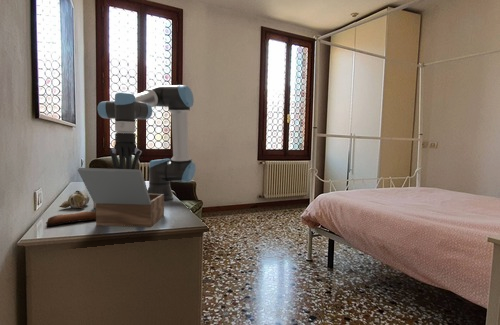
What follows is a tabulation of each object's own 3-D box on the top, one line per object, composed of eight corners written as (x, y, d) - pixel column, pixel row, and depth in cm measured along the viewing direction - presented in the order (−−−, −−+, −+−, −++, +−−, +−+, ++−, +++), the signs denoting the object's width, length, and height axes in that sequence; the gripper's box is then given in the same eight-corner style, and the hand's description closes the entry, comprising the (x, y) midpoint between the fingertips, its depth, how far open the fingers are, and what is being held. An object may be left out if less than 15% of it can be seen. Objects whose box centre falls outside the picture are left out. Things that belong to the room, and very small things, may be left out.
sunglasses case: (92, 216, 134) (94, 204, 131) (96, 227, 130) (98, 215, 127) (44, 222, 122) (44, 210, 119) (46, 235, 118) (47, 222, 115)
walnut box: (116, 214, 139) (116, 192, 138) (164, 215, 139) (164, 194, 138) (96, 225, 121) (95, 200, 120) (150, 227, 121) (150, 202, 120)
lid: (78, 167, 108) (77, 170, 107) (141, 169, 108) (140, 171, 107) (95, 200, 120) (94, 203, 119) (151, 202, 120) (150, 204, 119)
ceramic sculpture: (94, 187, 157) (80, 194, 142) (95, 203, 158) (81, 212, 143) (73, 187, 156) (56, 194, 141) (74, 203, 157) (58, 212, 142)
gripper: (104, 132, 116) (105, 192, 118) (138, 132, 116) (138, 193, 118) (113, 132, 124) (114, 188, 126) (144, 133, 123) (145, 189, 126)
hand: (125, 190), depth 122 cm, fingers closed
